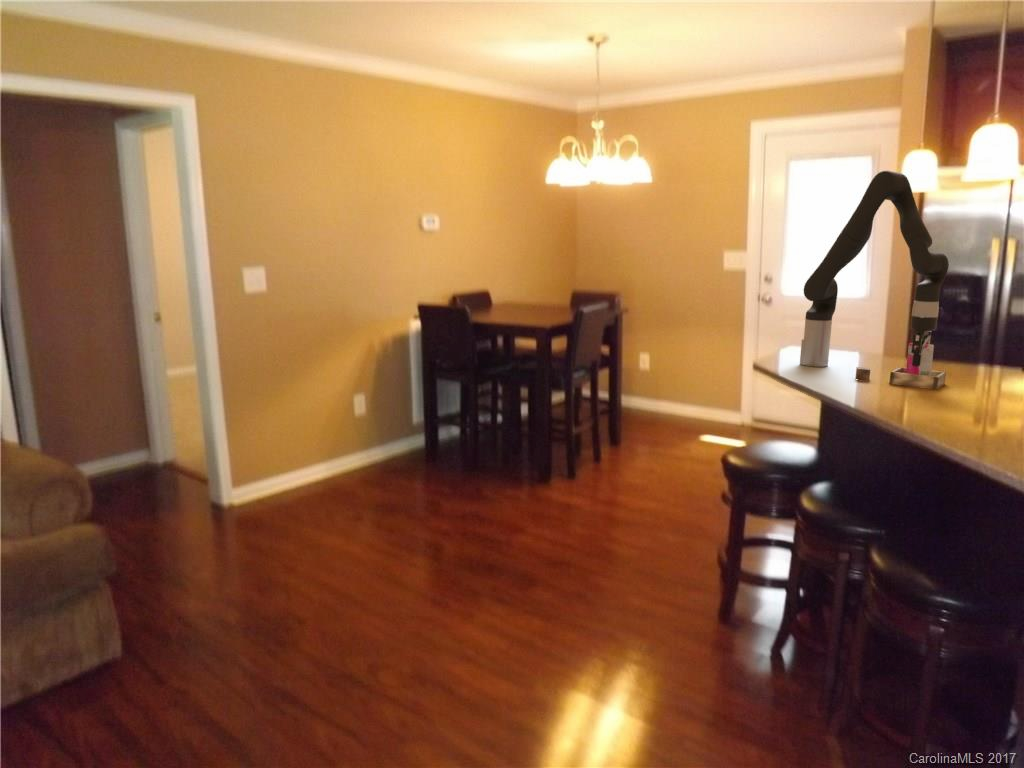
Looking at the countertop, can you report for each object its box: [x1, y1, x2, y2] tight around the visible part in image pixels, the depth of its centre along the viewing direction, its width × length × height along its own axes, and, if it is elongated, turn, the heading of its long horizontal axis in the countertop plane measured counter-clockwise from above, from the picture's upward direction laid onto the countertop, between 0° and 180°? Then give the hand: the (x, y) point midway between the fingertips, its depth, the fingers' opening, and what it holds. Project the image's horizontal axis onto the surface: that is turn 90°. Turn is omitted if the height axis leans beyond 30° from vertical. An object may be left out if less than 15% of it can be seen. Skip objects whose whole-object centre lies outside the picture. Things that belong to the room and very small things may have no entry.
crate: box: [889, 366, 947, 391], centre depth 248 cm, size 14×12×4 cm
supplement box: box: [905, 342, 935, 376], centre depth 247 cm, size 6×6×12 cm
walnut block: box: [855, 366, 871, 381], centre depth 256 cm, size 4×4×4 cm
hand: (918, 364), depth 248 cm, fingers closed on supplement box, 8 cm apart
